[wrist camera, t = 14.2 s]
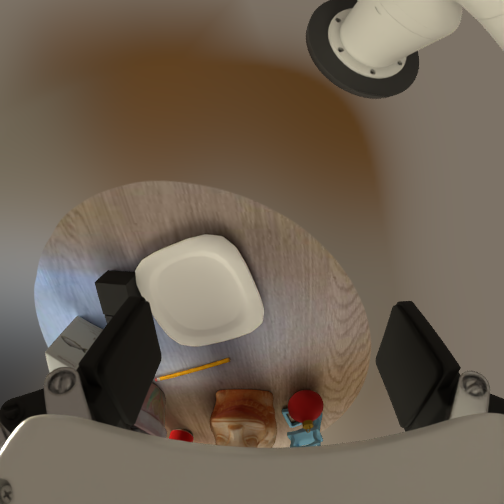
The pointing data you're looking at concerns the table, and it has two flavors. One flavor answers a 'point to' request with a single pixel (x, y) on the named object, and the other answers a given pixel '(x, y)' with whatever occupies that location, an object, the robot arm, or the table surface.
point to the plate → (200, 291)
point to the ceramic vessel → (244, 418)
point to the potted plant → (152, 414)
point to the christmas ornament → (305, 407)
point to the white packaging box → (72, 344)
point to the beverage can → (181, 435)
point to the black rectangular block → (116, 290)
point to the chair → (304, 433)
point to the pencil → (193, 369)
